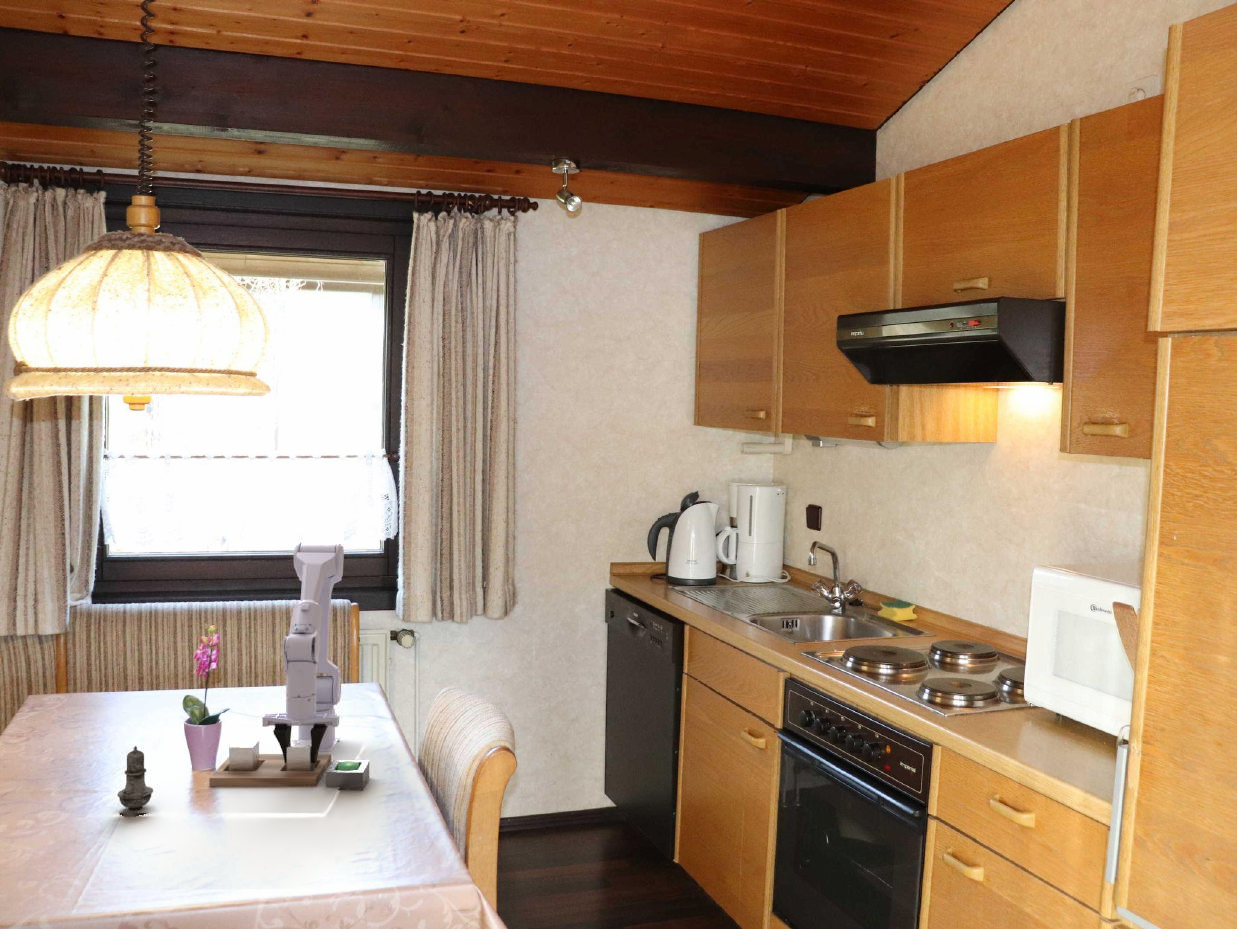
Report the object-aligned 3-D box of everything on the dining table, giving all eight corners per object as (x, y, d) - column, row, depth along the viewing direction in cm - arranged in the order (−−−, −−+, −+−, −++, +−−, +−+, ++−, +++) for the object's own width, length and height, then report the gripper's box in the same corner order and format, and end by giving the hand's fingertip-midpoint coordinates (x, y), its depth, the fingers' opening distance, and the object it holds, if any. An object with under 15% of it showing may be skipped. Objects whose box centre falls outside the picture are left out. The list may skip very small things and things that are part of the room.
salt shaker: (139, 819, 186) (139, 752, 186) (110, 816, 187) (109, 749, 187) (160, 807, 192) (160, 742, 191) (131, 804, 193) (131, 739, 193)
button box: (333, 777, 209) (333, 760, 209) (369, 777, 210) (369, 760, 209) (325, 790, 202) (326, 772, 202) (362, 790, 203) (363, 772, 202)
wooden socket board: (231, 764, 215) (231, 753, 215) (331, 764, 216) (331, 754, 216) (209, 789, 201) (209, 777, 201) (315, 789, 203) (316, 778, 202)
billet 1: (235, 769, 211) (236, 740, 210) (258, 769, 211) (259, 740, 211) (229, 777, 206) (229, 747, 206) (252, 777, 206) (252, 747, 206)
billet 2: (292, 769, 211) (292, 740, 211) (315, 769, 212) (315, 740, 211) (286, 777, 207) (286, 747, 207) (309, 777, 207) (310, 747, 207)
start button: (339, 775, 208) (339, 761, 208) (360, 775, 208) (360, 761, 208) (335, 782, 204) (335, 767, 204) (356, 782, 204) (356, 768, 204)
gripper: (258, 699, 204) (257, 768, 205) (334, 699, 205) (333, 768, 206) (268, 689, 211) (267, 756, 212) (341, 689, 212) (341, 756, 213)
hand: (300, 761), depth 209 cm, fingers closed on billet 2, 4 cm apart
